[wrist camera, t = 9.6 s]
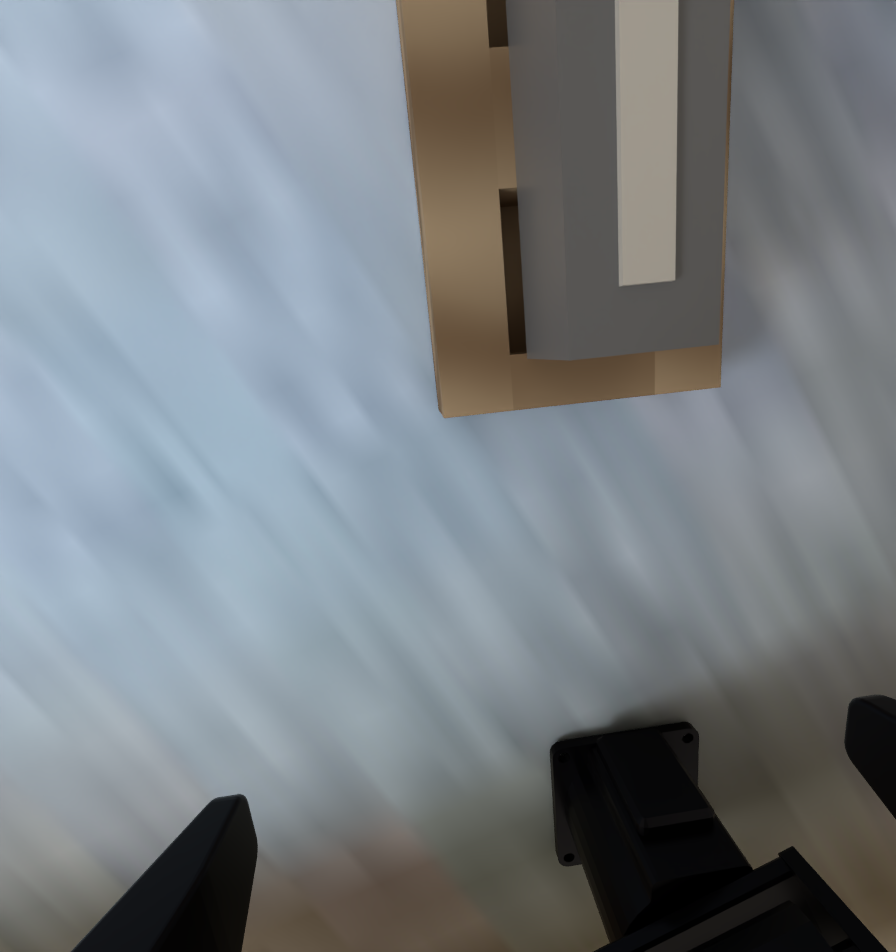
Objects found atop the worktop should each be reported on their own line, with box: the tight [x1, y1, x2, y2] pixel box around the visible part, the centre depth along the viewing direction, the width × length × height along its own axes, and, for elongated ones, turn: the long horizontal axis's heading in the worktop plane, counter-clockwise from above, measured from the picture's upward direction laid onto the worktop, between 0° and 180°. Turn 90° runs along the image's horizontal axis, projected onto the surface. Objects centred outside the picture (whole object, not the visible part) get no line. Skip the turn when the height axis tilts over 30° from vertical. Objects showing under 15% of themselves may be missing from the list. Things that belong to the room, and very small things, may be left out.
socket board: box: [396, 0, 734, 418], centre depth 15 cm, size 16×9×2 cm, turn 6°
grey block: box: [506, 0, 731, 361], centre depth 13 cm, size 13×4×6 cm, turn 6°
